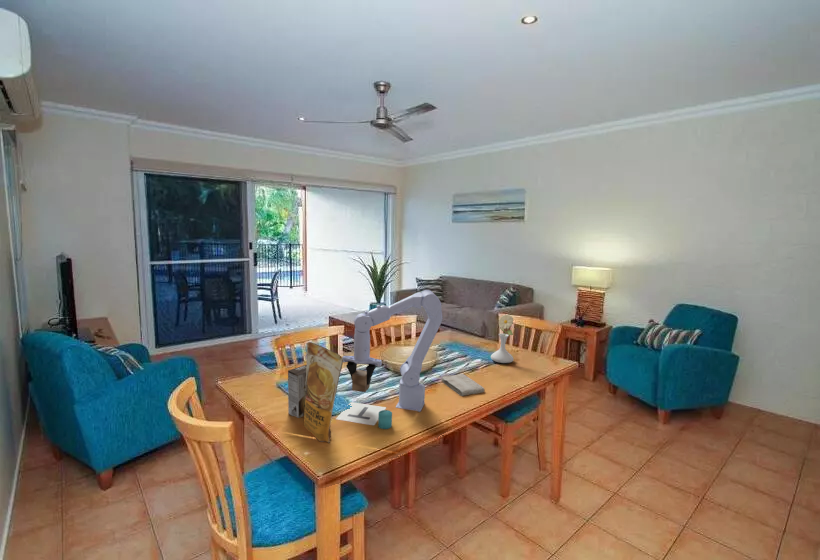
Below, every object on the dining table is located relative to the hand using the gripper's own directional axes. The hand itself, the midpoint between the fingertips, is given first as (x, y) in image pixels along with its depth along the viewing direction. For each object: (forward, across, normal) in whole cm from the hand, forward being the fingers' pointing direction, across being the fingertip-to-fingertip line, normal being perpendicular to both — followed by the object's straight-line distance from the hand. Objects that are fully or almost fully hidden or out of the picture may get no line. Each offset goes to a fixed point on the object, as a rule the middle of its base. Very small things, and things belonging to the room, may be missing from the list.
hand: (361, 382), depth 150 cm
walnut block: (+2, 0, 0) cm, 2 cm away
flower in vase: (+10, +50, +69) cm, 86 cm away
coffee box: (+10, -18, -10) cm, 23 cm away
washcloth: (+10, +34, +31) cm, 47 cm away
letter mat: (+9, +2, -6) cm, 11 cm away
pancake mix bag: (+10, -7, -20) cm, 24 cm away
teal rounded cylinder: (+9, +13, -12) cm, 20 cm away
